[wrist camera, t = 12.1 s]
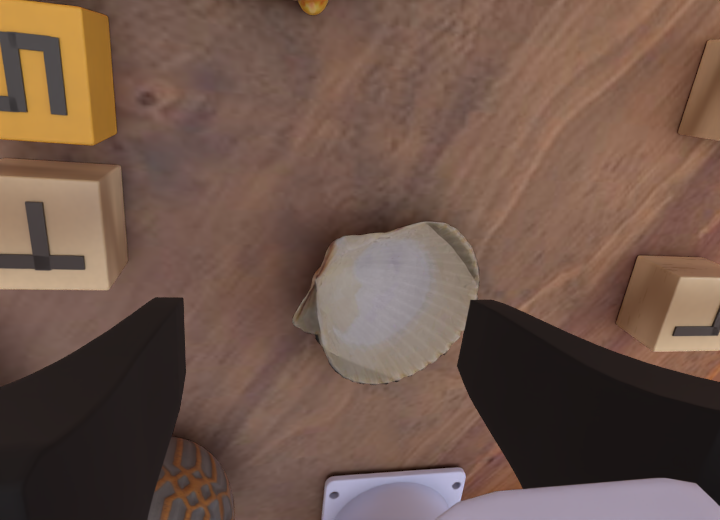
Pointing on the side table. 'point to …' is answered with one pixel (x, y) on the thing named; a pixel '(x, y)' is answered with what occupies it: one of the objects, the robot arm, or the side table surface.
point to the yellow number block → (55, 74)
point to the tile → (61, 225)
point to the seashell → (390, 300)
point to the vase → (191, 486)
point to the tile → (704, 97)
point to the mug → (312, 6)
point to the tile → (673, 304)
